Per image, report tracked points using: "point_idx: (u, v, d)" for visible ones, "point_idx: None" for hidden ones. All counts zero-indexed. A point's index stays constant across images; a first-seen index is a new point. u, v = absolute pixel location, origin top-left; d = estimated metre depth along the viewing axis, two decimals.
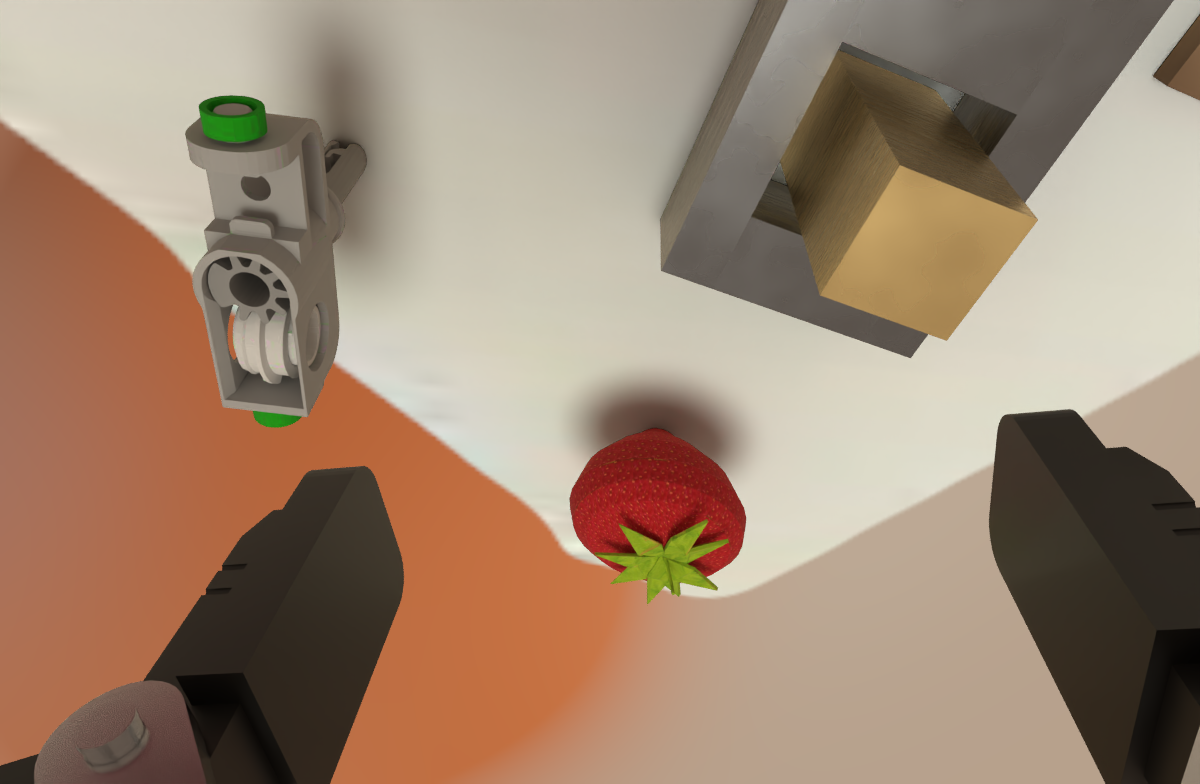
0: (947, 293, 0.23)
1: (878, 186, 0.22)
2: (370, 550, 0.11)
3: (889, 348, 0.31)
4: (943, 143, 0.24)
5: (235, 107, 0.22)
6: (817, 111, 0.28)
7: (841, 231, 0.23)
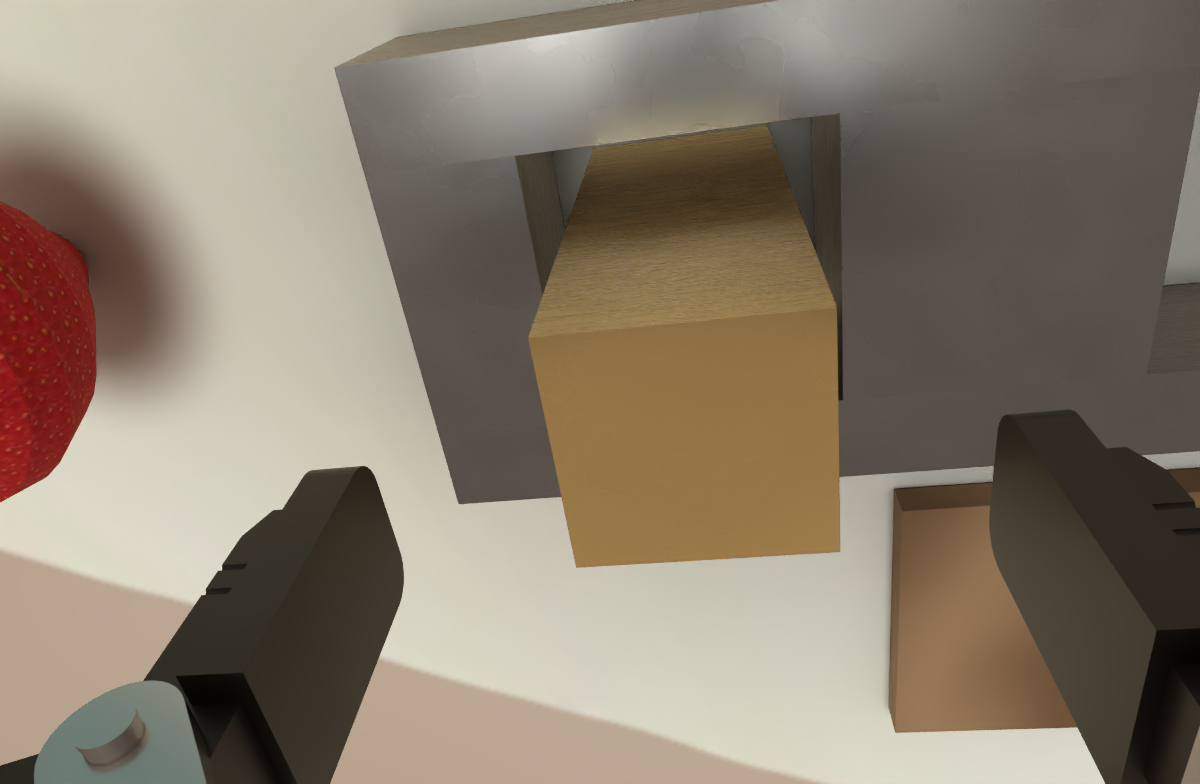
0: (654, 518, 0.13)
1: (769, 300, 0.11)
2: (370, 551, 0.11)
3: (453, 471, 0.20)
4: None
5: None
6: (695, 156, 0.18)
7: (644, 294, 0.12)
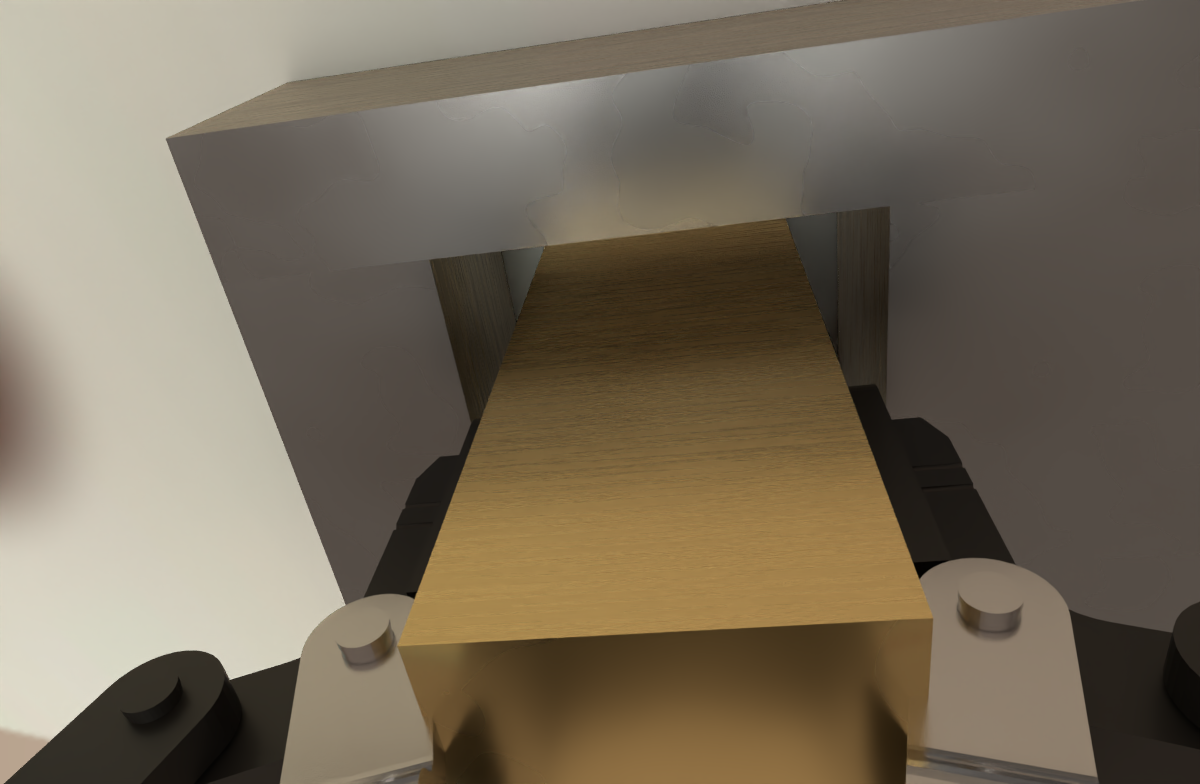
0: None
1: (809, 582, 0.07)
2: None
3: None
4: None
5: None
6: (684, 248, 0.13)
7: (598, 545, 0.07)
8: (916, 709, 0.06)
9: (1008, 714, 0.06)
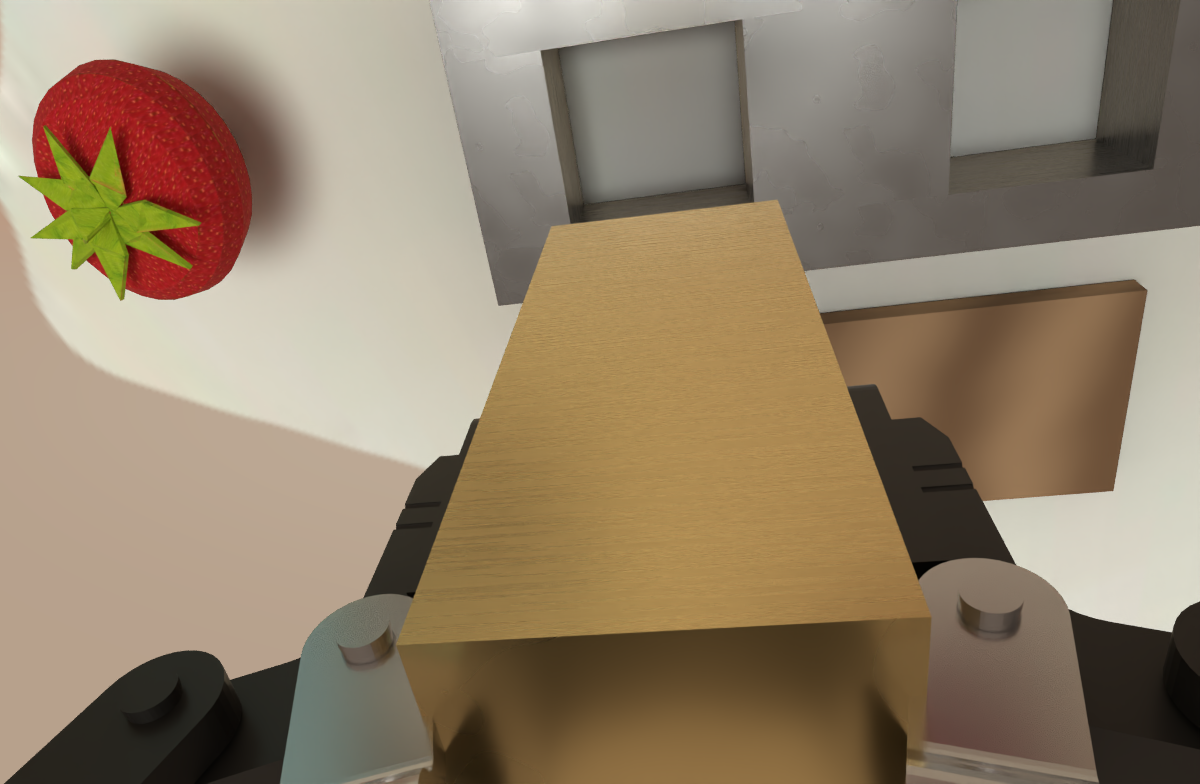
0: None
1: (806, 581, 0.07)
2: None
3: (495, 280, 0.29)
4: None
5: None
6: (684, 247, 0.13)
7: (597, 544, 0.07)
8: (916, 709, 0.06)
9: (1008, 714, 0.06)
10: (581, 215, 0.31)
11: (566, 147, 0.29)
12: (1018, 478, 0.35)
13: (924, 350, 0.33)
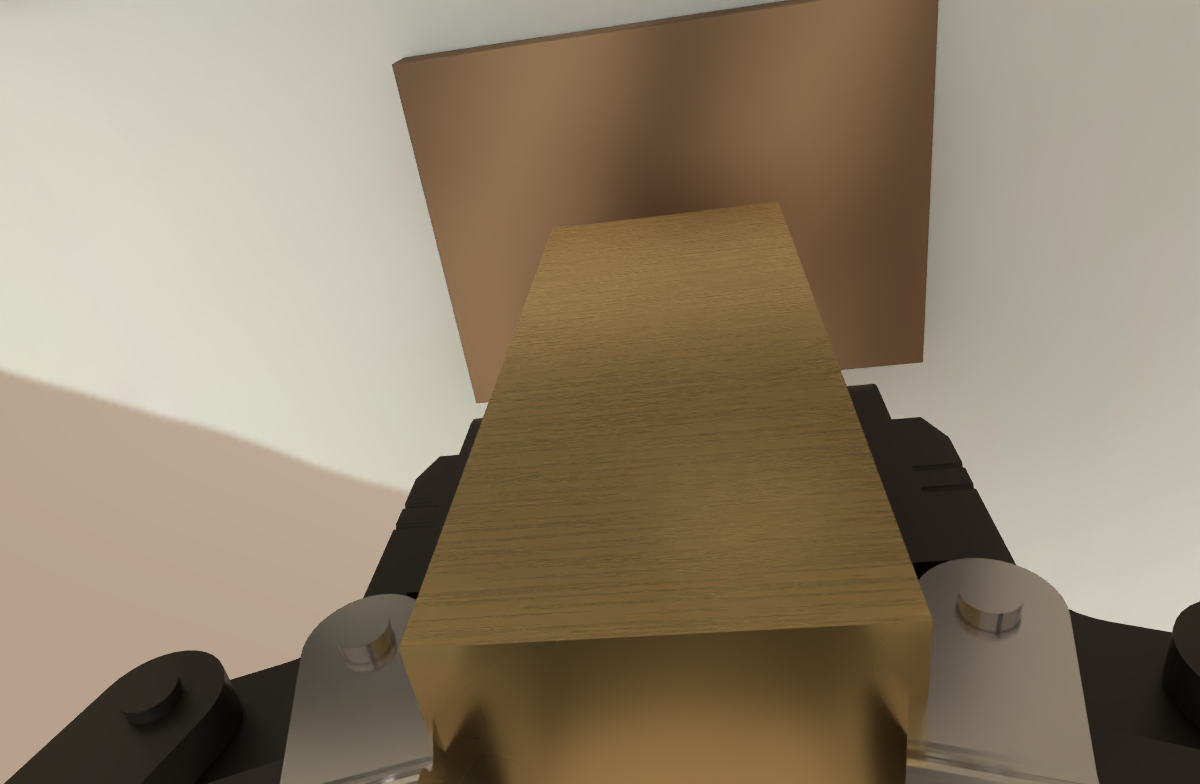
0: None
1: (809, 586, 0.07)
2: None
3: None
4: None
5: None
6: (684, 249, 0.13)
7: (600, 547, 0.07)
8: (916, 709, 0.06)
9: (1008, 714, 0.06)
10: None
11: None
12: None
13: (585, 109, 0.20)
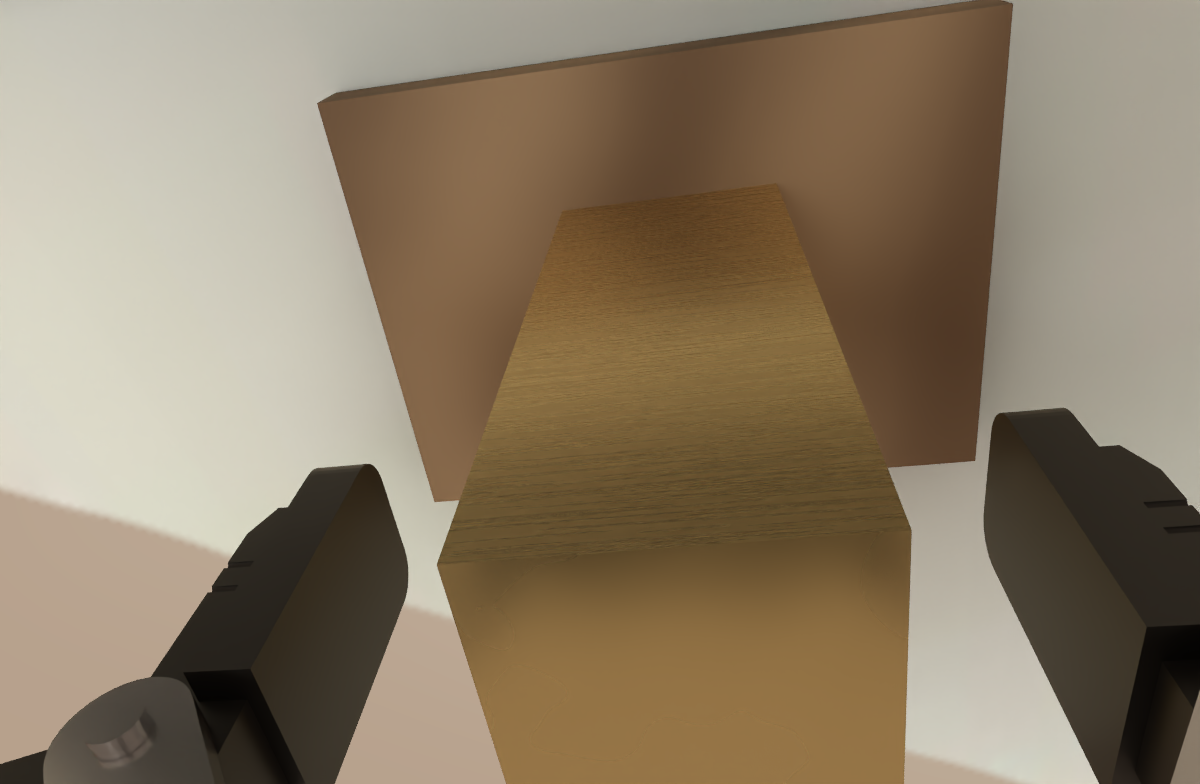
0: None
1: (803, 505, 0.07)
2: (375, 548, 0.11)
3: None
4: None
5: None
6: (688, 227, 0.14)
7: (614, 479, 0.08)
8: None
9: None
10: None
11: None
12: None
13: (561, 159, 0.16)
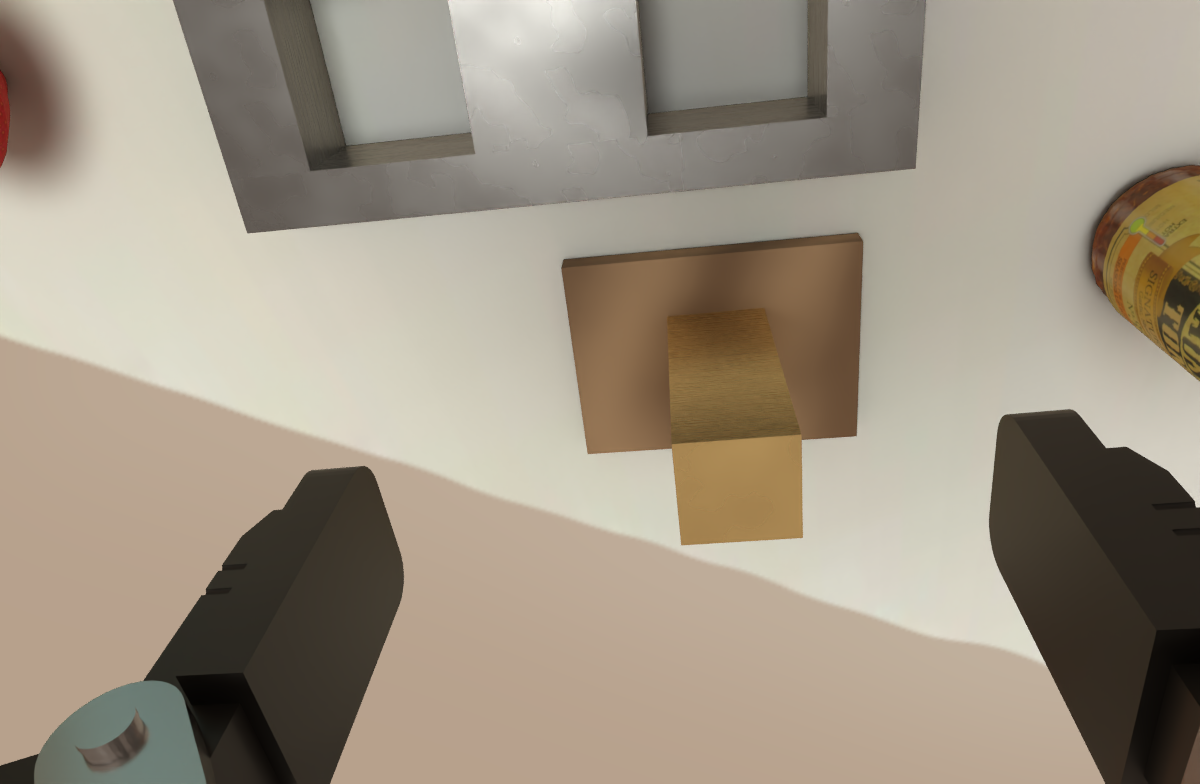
0: (719, 522, 0.28)
1: (773, 429, 0.27)
2: (370, 550, 0.11)
3: (241, 208, 0.31)
4: None
5: None
6: (727, 329, 0.34)
7: (717, 423, 0.27)
8: None
9: None
10: (335, 153, 0.33)
11: (310, 85, 0.31)
12: None
13: (668, 294, 0.35)
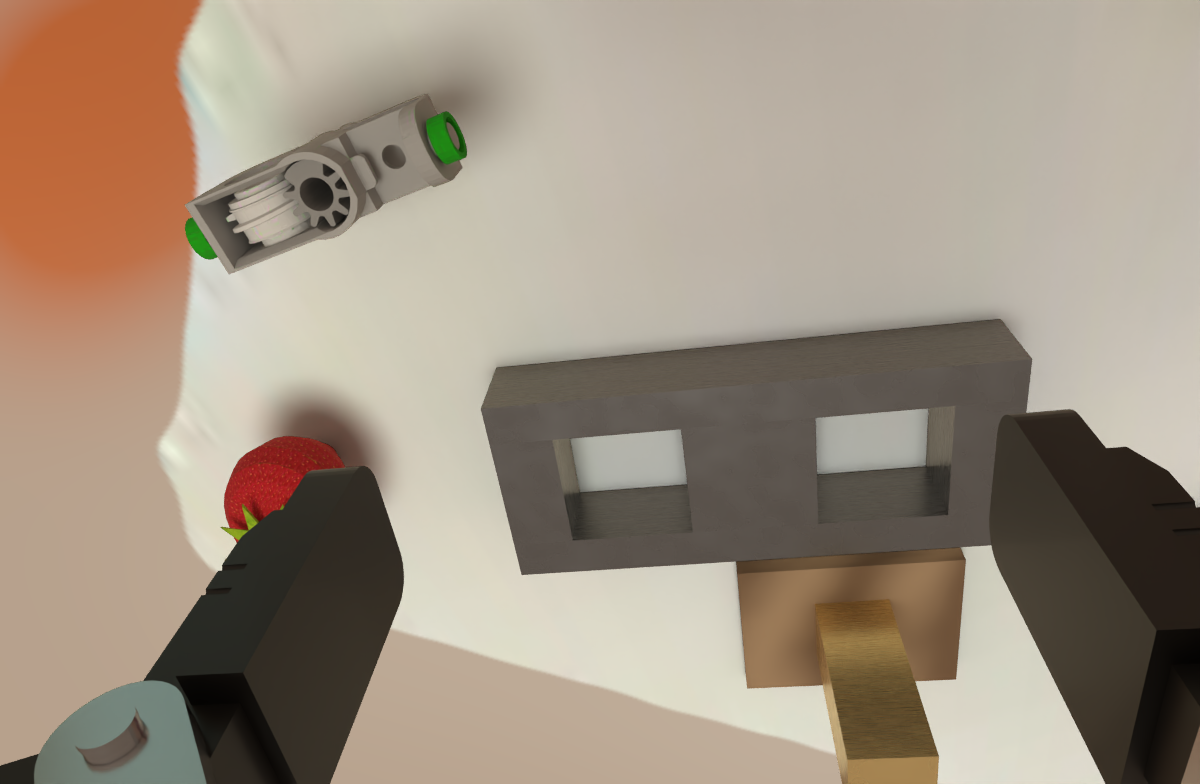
0: None
1: (917, 748, 0.39)
2: (370, 550, 0.11)
3: (519, 560, 0.43)
4: None
5: (454, 135, 0.28)
6: (864, 625, 0.45)
7: (876, 738, 0.39)
8: None
9: None
10: (578, 507, 0.45)
11: (568, 474, 0.43)
12: None
13: (817, 590, 0.47)
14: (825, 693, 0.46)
